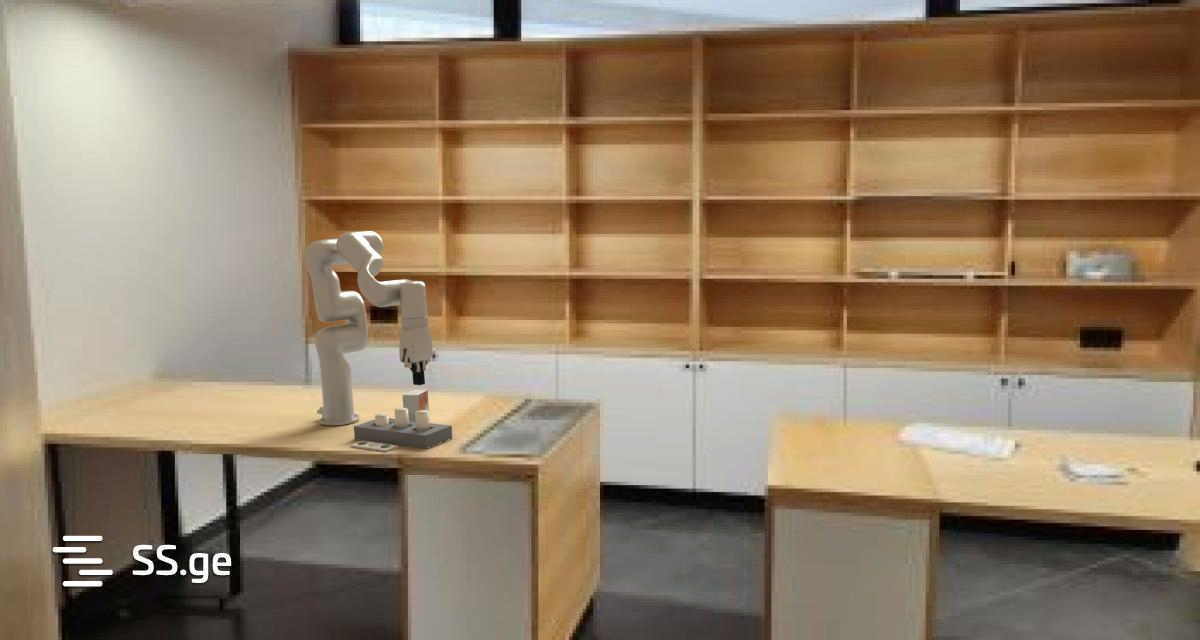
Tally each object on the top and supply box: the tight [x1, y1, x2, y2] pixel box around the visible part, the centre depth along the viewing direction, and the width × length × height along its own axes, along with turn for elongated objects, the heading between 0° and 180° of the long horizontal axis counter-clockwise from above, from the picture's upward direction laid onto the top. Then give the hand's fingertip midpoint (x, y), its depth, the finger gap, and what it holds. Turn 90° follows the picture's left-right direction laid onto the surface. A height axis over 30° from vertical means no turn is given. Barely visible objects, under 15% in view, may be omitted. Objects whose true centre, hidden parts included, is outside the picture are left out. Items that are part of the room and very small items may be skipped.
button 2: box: [394, 407, 409, 429], centre depth 280 cm, size 4×4×7 cm
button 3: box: [415, 410, 431, 431], centre depth 276 cm, size 4×4×7 cm
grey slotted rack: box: [353, 417, 453, 449], centre depth 281 cm, size 28×12×4 cm, turn 61°
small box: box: [402, 389, 430, 421], centre depth 298 cm, size 8×6×10 cm
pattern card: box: [349, 440, 399, 452], centre depth 273 cm, size 14×5×1 cm, turn 61°
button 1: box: [374, 412, 390, 426], centre depth 284 cm, size 4×4×7 cm
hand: (419, 384), depth 275 cm, fingers closed
